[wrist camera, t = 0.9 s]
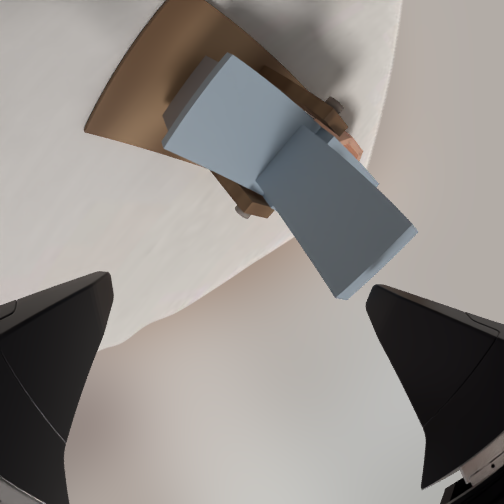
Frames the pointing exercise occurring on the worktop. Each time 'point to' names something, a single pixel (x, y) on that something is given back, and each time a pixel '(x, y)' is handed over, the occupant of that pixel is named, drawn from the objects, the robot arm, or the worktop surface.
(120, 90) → the stand
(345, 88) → the worktop surface
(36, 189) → the worktop surface
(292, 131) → the catapult lever
